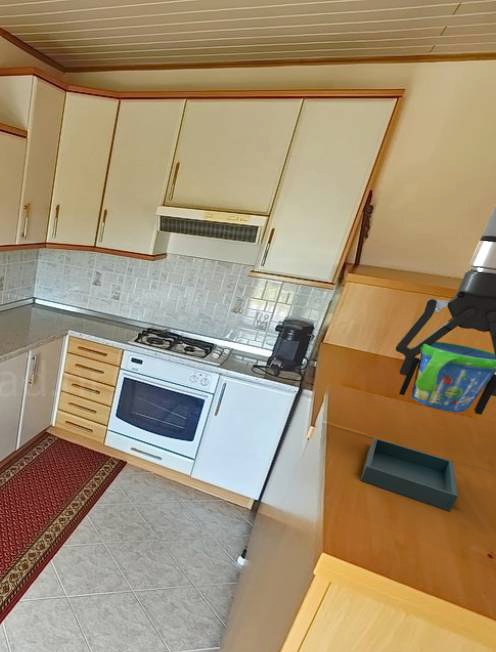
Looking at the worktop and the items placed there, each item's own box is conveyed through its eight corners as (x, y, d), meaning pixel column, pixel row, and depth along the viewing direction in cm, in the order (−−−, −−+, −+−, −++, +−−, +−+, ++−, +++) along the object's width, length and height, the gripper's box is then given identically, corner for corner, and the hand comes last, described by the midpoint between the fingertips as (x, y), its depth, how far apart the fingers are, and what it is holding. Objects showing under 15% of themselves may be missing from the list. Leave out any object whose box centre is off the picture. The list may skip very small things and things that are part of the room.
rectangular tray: (446, 475, 93) (453, 461, 92) (450, 511, 80) (458, 496, 79) (368, 450, 100) (374, 437, 99) (360, 480, 87) (366, 466, 86)
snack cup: (443, 420, 78) (472, 360, 74) (375, 395, 87) (398, 340, 83) (500, 416, 83) (530, 359, 79) (431, 392, 92) (455, 340, 89)
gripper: (409, 262, 81) (359, 387, 89) (611, 286, 68) (531, 431, 76) (410, 261, 86) (363, 379, 94) (597, 283, 73) (524, 418, 81)
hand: (438, 402), depth 85 cm, fingers closed on snack cup, 9 cm apart
